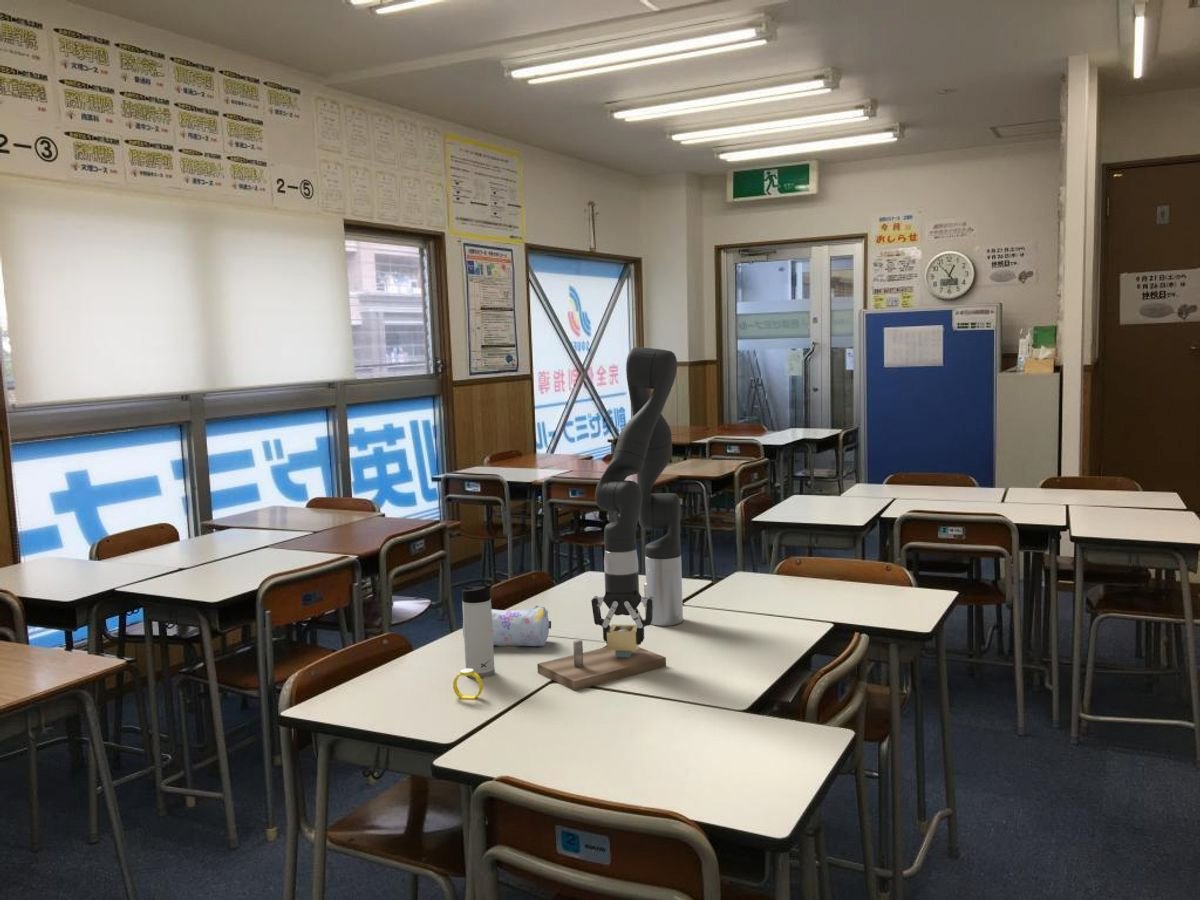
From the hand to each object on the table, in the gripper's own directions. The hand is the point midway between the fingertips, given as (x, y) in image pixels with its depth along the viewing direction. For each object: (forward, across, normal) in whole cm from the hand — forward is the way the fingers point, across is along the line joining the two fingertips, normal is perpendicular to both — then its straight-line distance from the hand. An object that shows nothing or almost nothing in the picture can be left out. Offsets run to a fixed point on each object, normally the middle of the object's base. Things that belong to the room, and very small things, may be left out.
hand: (624, 643), depth 213 cm
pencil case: (+5, -31, +13) cm, 34 cm away
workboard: (+5, -4, -4) cm, 8 cm away
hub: (+3, 0, 0) cm, 3 cm away
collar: (+1, 0, 0) cm, 1 cm away
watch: (+5, -28, -24) cm, 37 cm away
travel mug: (+5, -31, -9) cm, 32 cm away
